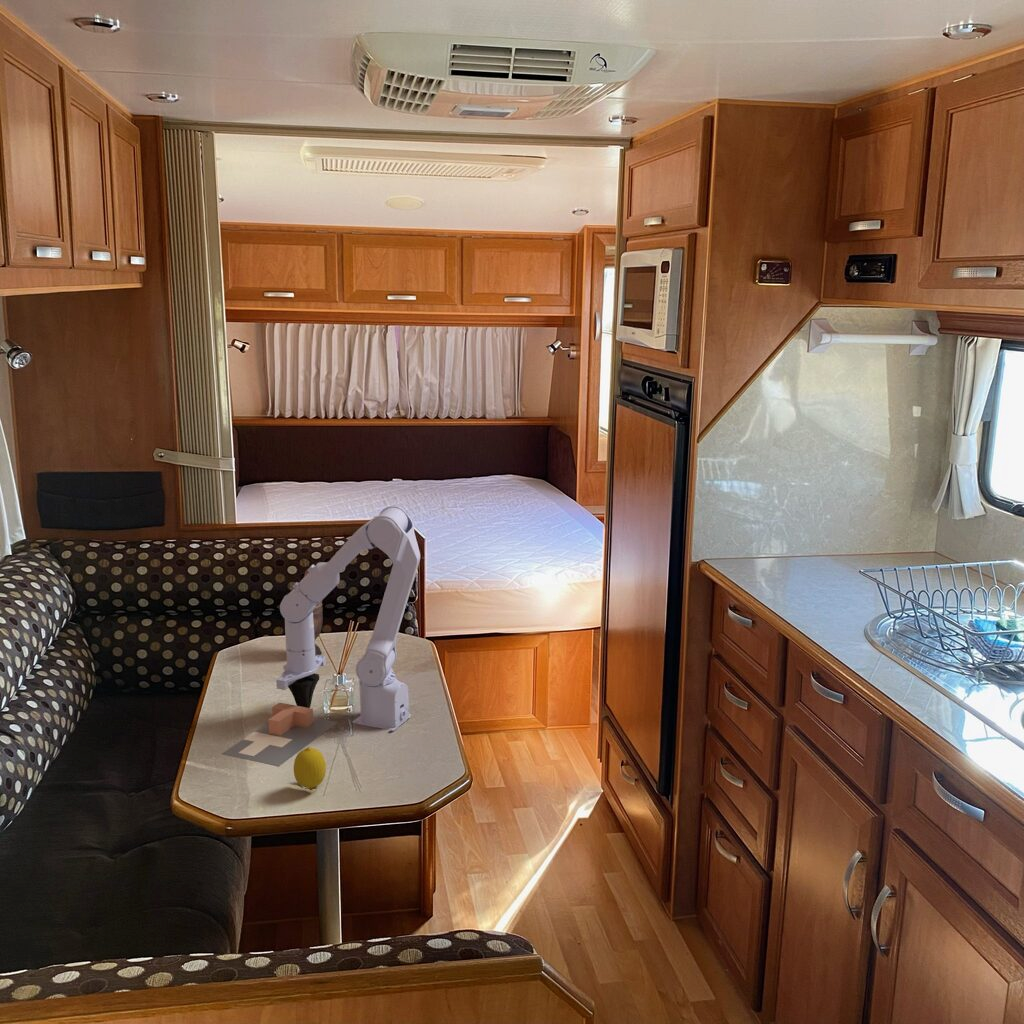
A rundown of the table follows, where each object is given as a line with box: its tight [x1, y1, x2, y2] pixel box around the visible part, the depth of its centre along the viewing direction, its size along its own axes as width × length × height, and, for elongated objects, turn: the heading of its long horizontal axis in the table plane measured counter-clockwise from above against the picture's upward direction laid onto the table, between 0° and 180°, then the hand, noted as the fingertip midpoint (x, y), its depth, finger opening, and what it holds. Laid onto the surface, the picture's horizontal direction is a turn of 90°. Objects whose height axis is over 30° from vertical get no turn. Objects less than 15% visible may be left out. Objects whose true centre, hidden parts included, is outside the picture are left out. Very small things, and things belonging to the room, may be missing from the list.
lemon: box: [293, 746, 327, 791], centre depth 170 cm, size 6×6×8 cm
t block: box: [268, 702, 314, 736], centre depth 194 cm, size 8×8×3 cm
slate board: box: [221, 717, 339, 767], centre depth 189 cm, size 13×20×1 cm, turn 158°
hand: (303, 709), depth 200 cm, fingers closed
